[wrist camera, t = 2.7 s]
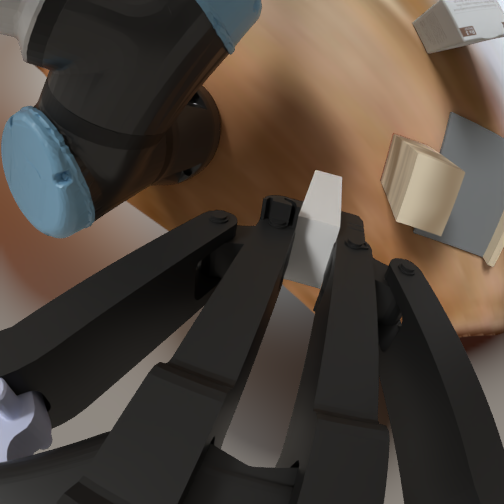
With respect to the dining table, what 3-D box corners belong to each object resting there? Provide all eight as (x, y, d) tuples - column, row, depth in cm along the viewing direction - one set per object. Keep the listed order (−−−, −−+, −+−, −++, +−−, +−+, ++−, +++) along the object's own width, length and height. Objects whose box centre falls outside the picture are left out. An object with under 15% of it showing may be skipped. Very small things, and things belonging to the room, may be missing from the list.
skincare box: (450, 14, 19) (492, -13, 9) (467, 47, 21) (517, 34, 11) (409, 23, 22) (438, -7, 12) (426, 57, 23) (466, 43, 13)
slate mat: (412, 230, 34) (416, 240, 32) (450, 111, 26) (457, 113, 23) (487, 257, 32) (493, 266, 30) (527, 152, 23) (537, 157, 21)
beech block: (380, 180, 33) (395, 221, 23) (393, 133, 29) (418, 153, 19) (413, 191, 32) (441, 236, 22) (427, 145, 29) (465, 172, 19)
